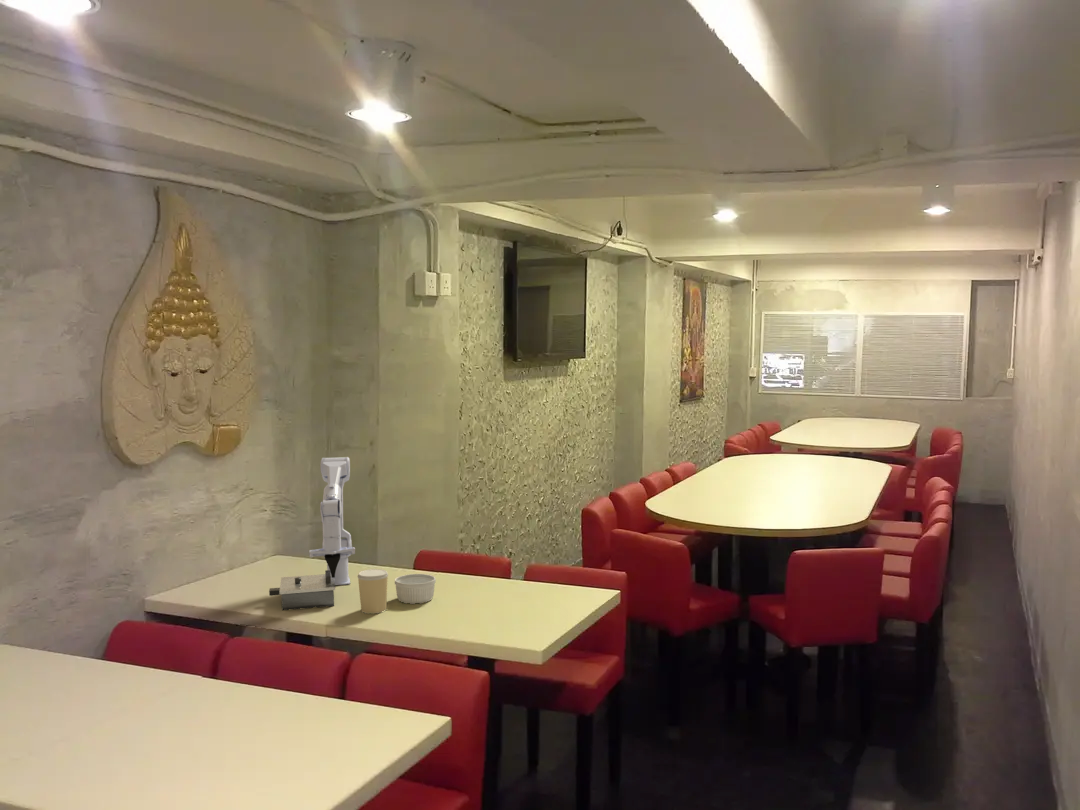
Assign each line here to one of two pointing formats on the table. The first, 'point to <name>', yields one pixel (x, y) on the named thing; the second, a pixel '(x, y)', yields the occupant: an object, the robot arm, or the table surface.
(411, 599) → the ramekin
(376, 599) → the coffee cup
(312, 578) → the lid
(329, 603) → the gray rectangular box
